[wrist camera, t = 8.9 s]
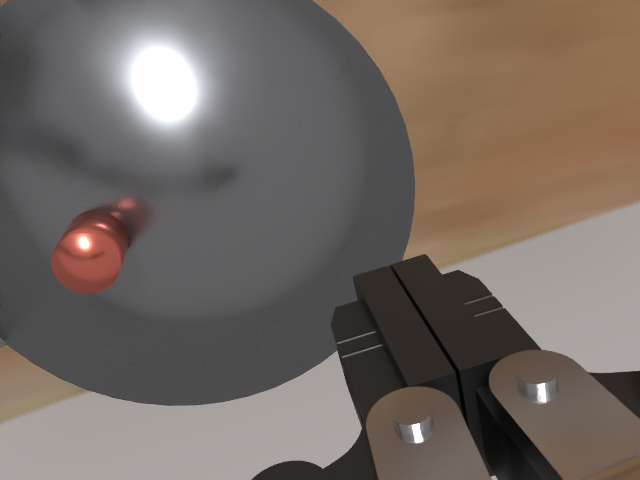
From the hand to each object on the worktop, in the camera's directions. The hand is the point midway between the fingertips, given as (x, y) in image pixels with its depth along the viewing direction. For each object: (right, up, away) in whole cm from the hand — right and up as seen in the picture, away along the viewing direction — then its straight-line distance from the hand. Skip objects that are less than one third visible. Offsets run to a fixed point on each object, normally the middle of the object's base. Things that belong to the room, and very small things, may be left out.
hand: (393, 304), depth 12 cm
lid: (-7, +4, +9) cm, 12 cm away
